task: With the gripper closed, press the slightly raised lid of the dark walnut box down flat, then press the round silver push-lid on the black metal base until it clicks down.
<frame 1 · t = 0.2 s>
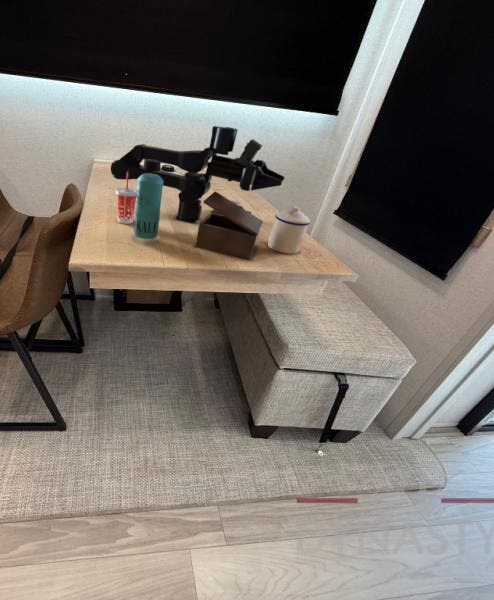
hand: (282, 181, 90), 17 cm above the table, tool horizontal, fingers open, 9 cm apart
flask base: (230, 218, 112), on the table
beverage cup: (125, 221, 98), on the table
box: (226, 245, 90), on the table
lid: (234, 212, 85), point 9 cm above the table, hinge at 20.0°
beverage bottle: (145, 240, 87), on the table
push lid: (233, 205, 109), point 4 cm above the table, slide at 0.1 cm
teacup with lid: (280, 246, 94), on the table
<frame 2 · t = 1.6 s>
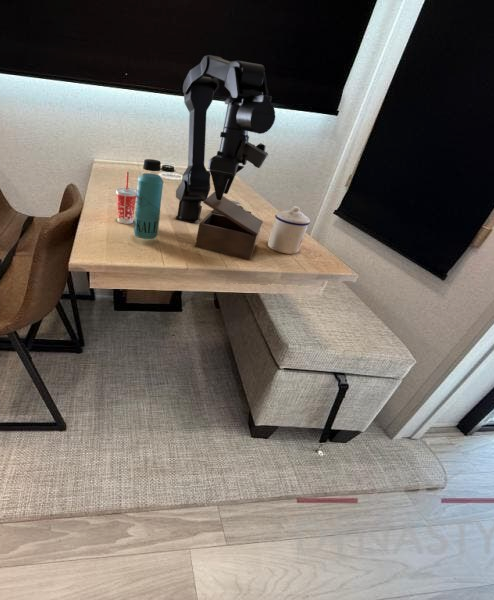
hand: (222, 196, 84), 13 cm above the table, tool pointing down, fingers open, 8 cm apart
nothing on the table moved.
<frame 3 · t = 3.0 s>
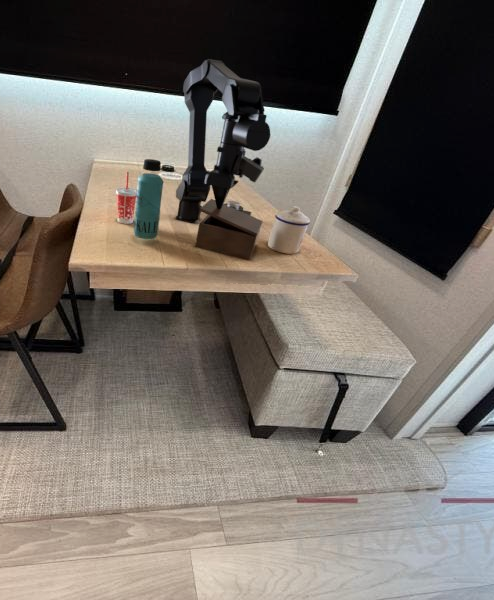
hand: (219, 208, 86), 9 cm above the table, tool pointing down, fingers closed, pressing on lid
lid: (232, 216, 85), point 8 cm above the table, hinge at 11.6°, touching gripper
everything else where it was.
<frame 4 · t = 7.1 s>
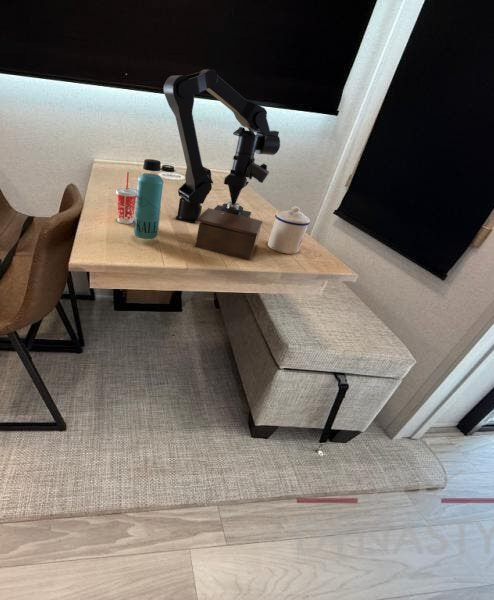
hand: (233, 203, 109), 5 cm above the table, tool pointing down, fingers closed, pressing on push lid
lid: (230, 221, 86), point 7 cm above the table, hinge at 1.4°
push lid: (233, 206, 110), point 4 cm above the table, slide at -0.3 cm, touching gripper
everything else where it was.
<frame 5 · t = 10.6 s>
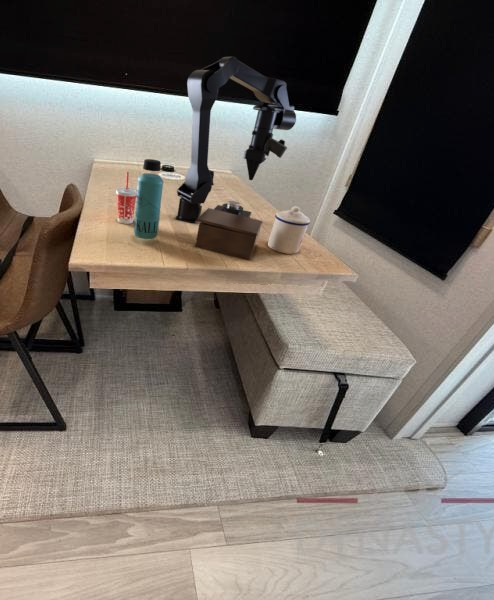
hand: (250, 180, 110), 12 cm above the table, tool pointing down, fingers closed
push lid: (233, 205, 109), point 4 cm above the table, slide at 0.1 cm
everything else where it was.
at the end: lid at +1° (first picture: +20°); push lid pushed in 1.2 cm at the most during the clip, back to where it started at the end; push lid slide at 0.1 cm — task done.
